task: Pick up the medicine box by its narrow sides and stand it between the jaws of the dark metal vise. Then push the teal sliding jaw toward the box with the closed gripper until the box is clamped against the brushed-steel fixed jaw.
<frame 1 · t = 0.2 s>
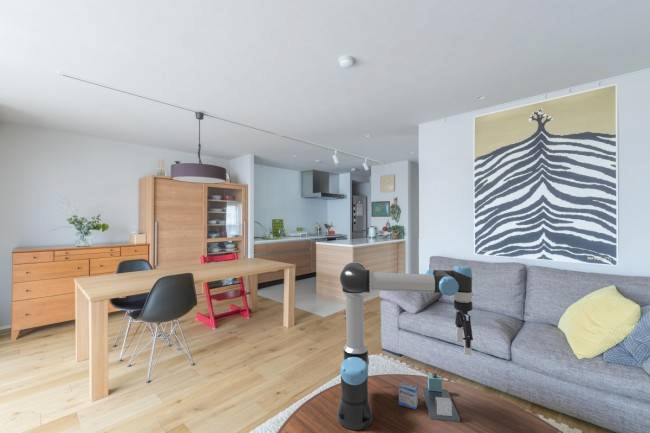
hand: (463, 347, 130), 27 cm above the table, fingers open, 13 cm apart
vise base: (439, 404, 133), on the table
medicine box: (408, 405, 133), on the table
sliding jaw: (439, 404, 133), resting on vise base, slide at 0.0 cm
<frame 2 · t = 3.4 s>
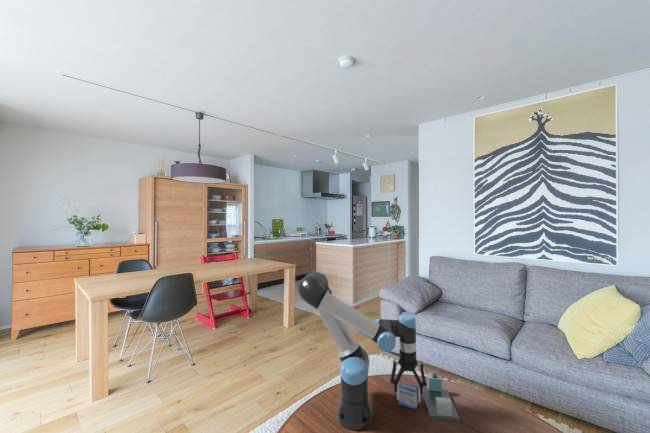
hand: (408, 399, 133), 2 cm above the table, fingers closed on medicine box, 9 cm apart
medicine box: (408, 405, 133), on the table, touching gripper
everything else where it was.
when the fingers open (6 cm above the table, at t = 9.0 s): medicine box drops 2 cm, resting on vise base.
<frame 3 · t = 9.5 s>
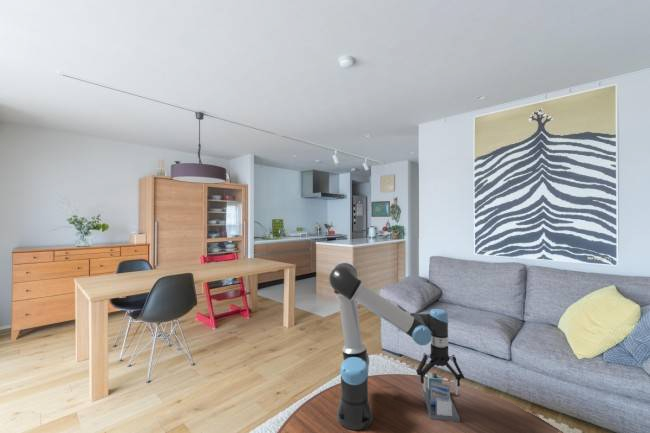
hand: (440, 391, 131), 7 cm above the table, fingers open, 13 cm apart
medicine box: (440, 404, 131), point 1 cm above the table, touching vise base
everything else where it was.
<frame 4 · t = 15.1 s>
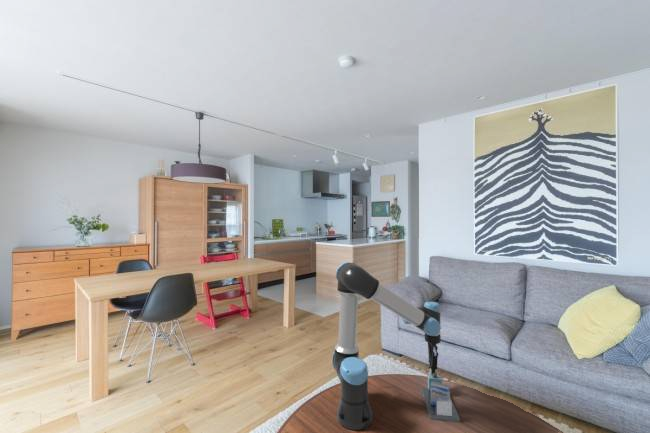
hand: (433, 380, 146), 4 cm above the table, fingers closed
sliding jaw: (439, 404, 133), resting on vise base, slide at 0.0 cm, touching gripper
everything else where it was.
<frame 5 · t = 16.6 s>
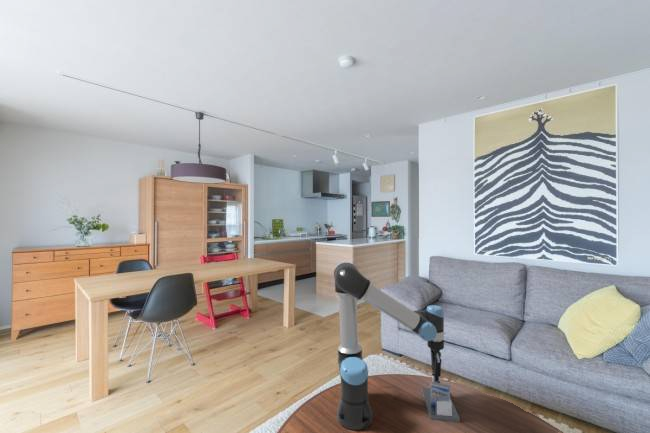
hand: (436, 388, 139), 4 cm above the table, fingers closed
medicine box: (440, 405, 131), point 1 cm above the table
sliding jaw: (442, 414, 126), resting on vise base, slide at 7.0 cm, touching gripper
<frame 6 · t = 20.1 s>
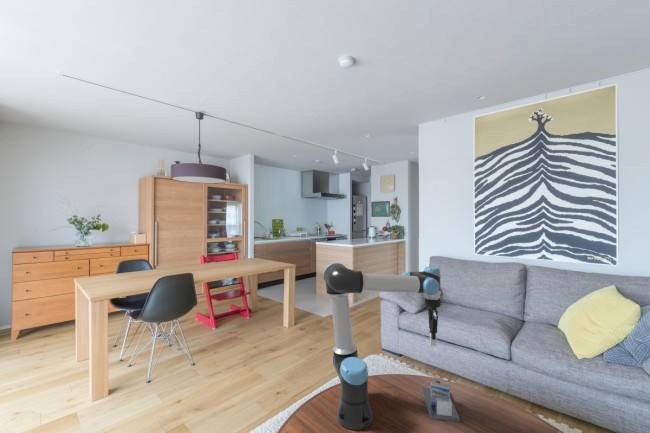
hand: (433, 345, 145), 22 cm above the table, fingers closed
medicine box: (440, 405, 131), point 1 cm above the table, touching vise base
sliding jaw: (442, 415, 126), resting on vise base, slide at 7.1 cm
at the end: sliding jaw slide at 7.1 cm; medicine box 0.5 cm from the target spot, point 1.3 cm above the table; medicine box tilted 0° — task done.
